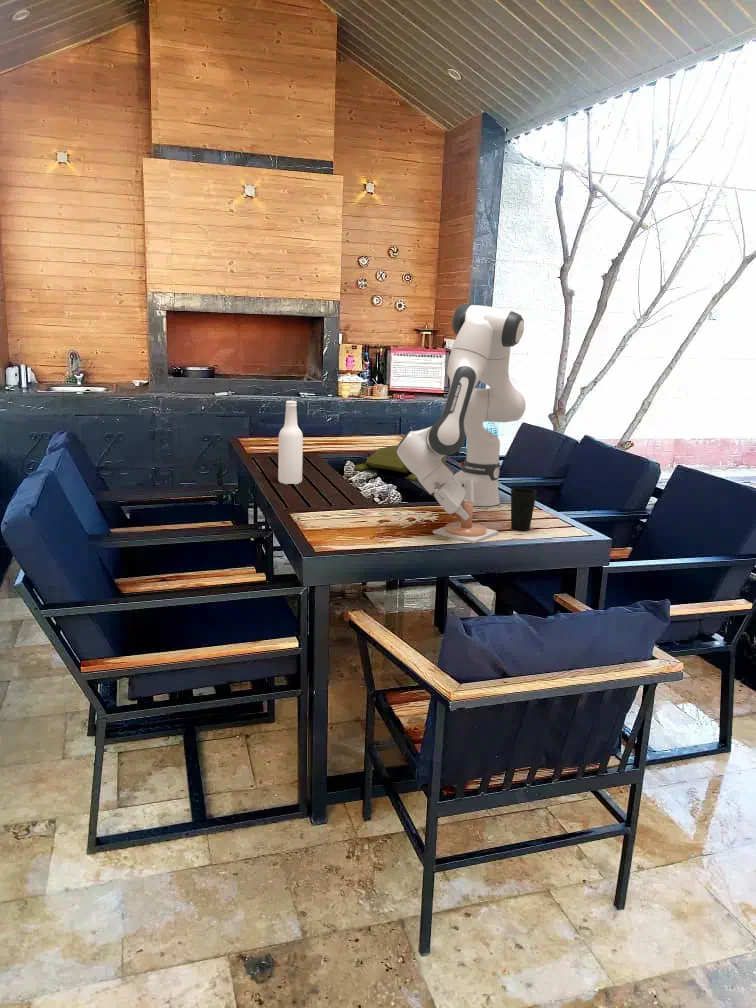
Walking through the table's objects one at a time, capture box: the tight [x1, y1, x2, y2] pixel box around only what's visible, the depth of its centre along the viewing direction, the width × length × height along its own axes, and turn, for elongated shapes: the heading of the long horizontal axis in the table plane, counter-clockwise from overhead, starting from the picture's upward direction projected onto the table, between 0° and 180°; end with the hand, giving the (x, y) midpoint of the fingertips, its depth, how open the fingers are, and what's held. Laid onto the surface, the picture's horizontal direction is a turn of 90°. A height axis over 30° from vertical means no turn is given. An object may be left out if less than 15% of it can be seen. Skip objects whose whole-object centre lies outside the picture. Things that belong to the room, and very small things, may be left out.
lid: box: [445, 502, 488, 537], centre depth 223 cm, size 12×12×8 cm
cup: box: [510, 487, 537, 532], centre depth 231 cm, size 8×8×12 cm
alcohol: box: [277, 400, 304, 485], centre depth 278 cm, size 9×9×30 cm
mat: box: [432, 525, 499, 544], centre depth 224 cm, size 14×14×1 cm
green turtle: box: [353, 444, 450, 481], centre depth 314 cm, size 35×31×10 cm
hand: (469, 515), depth 223 cm, fingers open, 5 cm apart
